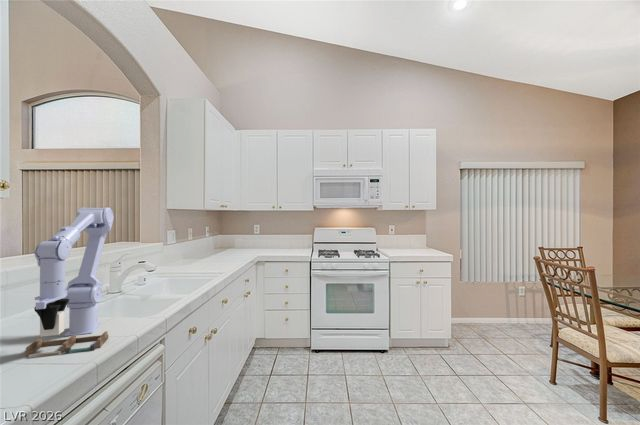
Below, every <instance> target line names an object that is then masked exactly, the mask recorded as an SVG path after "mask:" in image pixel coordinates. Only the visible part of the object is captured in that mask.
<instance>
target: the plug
mask: <svg viewBox="0 0 640 425" xmlns="http://www.w3.org/2000/svg"><path fill="white" fill-rule="evenodd" d="M64 331H65V310H64V311H58V312H57V316H56V322H55V326H54V329H50V330H44V328H43V325H42V322H41V319H40V318H39V337H40V338H42V337H50V336H59V335H60V334H61V333H63V332H64Z"/></svg>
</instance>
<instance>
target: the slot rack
mask: <svg viewBox="0 0 640 425" xmlns="http://www.w3.org/2000/svg"><path fill="white" fill-rule="evenodd" d="M108 332H109V331H107V330H106V331H104V332H103V333H102V334H101V335H92V336H83V337H76V336H77V335H72V336H70V337H68V338H64V339H55V340H46V341H45V340H44V341H43V338H42V337H40V338H38V339H36V340H35V341H33V342H32V343H31V344H29V345H28V346H26V347H25V357H26V358H28V359H33V358H41V357H49V356H57V355H60V354H61V353H65V354H72V353H73V354H74V353H84V352H90V351H95V350H96V348H97V349H101V348H102V346H103V345H104V344H105V343H106V342H107V340H108V339H109V333H108ZM92 341H93V342H94V341H96V343H92V344H90V345H89V346H90V347H89V346H88V347H81V348H72V347H73V346H75V344H77V343H85V342H86V343H87V342H92ZM60 345H62V351H61V350H55V351H47V352H38V353H36V352H37V351H38V350H40V349H41V348H42V347H50V346H60Z"/></svg>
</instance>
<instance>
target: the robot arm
mask: <svg viewBox="0 0 640 425" xmlns="http://www.w3.org/2000/svg"><path fill="white" fill-rule="evenodd" d="M113 212H114V211H113V209H111V207H84V206H83V207H80V208H79V209H78V210H76V217H75V219H73V221H72V222H71V223H70V224H69V226H67V225H66V226H61V227H60V229H58V231H57V232H55V234H54V235H52V236H51V237H50V238H49V239H48V240H44V241H41V242H40V243H38V244H37V245H36V247H35V250H34V252H33V253H34V254H33V255H34V256H35V259H36V260H37V262H36V264H37V267H39V296H36V297H34V301H36V302H35V306H34V312H35V313H36V314H37V315H38V317H39V320H40V319H41V322H42V325H43V328H44V330H50V329H54V326H55V322H56V316H57V312H58V311H64V312H65V309H66V308H67V309H68V308H69V310H68V311H69V313H68V314H69V315H68V318H69V319H68V329H69V330H68V331H67V332H66V333H65V334H63V337H69V336H70V337H71V336H72V335H76V336H78V335H80V336H81V335H88V334H93V333H94V332H95V331H96V330H97V329H98V328H99V327H100V326H101V325H102V323H101V322H100V323H99V307H98V303H99V302H100V301H101V298H102V296H103V282H101V281H100V280H99V279H98V278H96V276H97V273H98V268H99V265H100V261H101V257H102V254H103V248H104V245H105V241H106V238H107V234H108V233H110V232H111V231H112V230H111V229H112V227H113V223H114V220H115V219H114V218H115V217H114V213H113ZM81 232H85V233H88V234H89V236H88V240H87V243H86V246H85V250H84V253H83V257H82V260H81V265H80V267H79V271H78V275H77V276H76V277H74V278H73V279H71V280H69V281H68V283H67V285H66V259H68V258H69V257H70V254H71V250H72V249H73V245H75V244H76V243H77V242H78V241H79V239H80V237H81Z"/></svg>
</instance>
